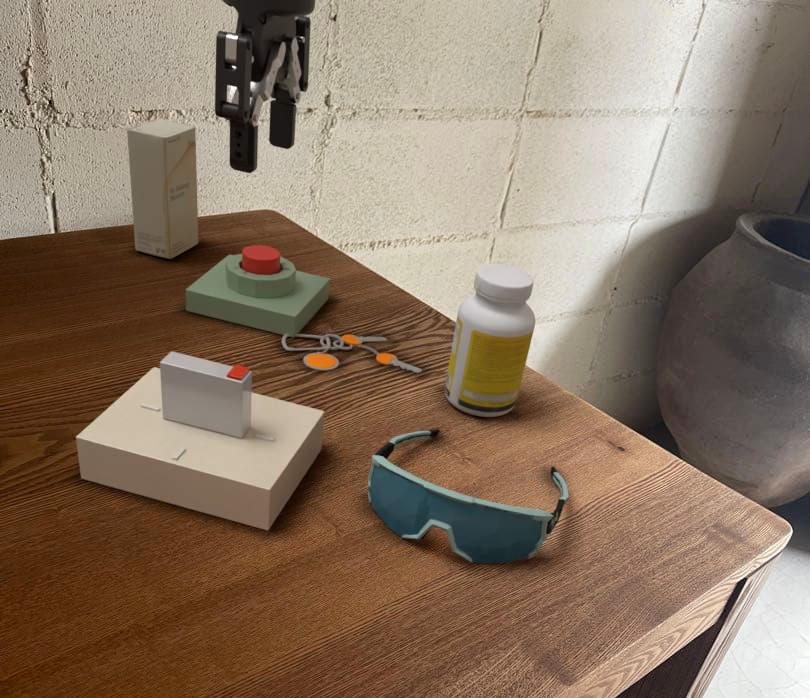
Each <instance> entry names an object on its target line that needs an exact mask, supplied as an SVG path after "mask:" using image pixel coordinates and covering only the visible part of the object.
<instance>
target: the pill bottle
mask: <svg viewBox="0 0 810 698" xmlns="http://www.w3.org/2000/svg"><path fill="white" fill-rule="evenodd" d="M534 281H535V280H534V277H533V276H532V274H530V273H529V272H528V271H525V270H523V269H521V268H518V267H516V266H513V265H508V264H503V263H487V264H482V265H480V266H479V267H478V268H477V269H476V273H475V276H474V280H473V289H474V291H475V292H474V293H471V294H470V295H468V296H467V297H465V298H464V299H463V300H462V302H461V303H460V305H459V306H458V311H457V315H456V321H455V326H454V333H453V338H452V343H451V350H450V355H449V361H448V367H447V372H446V377H445V378H446V379H445V384H444V394H445V398H446V399H447V401H448V402H449V404H451V405H452V406H453V407H454V408H456V409H457V410H459V411H461V412H462V413H463V412H464V413H466V414H468V415H471V416H476V417H481V418H482V417H483V418H495V417H500V416H504V415H506V414H508V413H510V412H511V411H512V410H513V409H514V407H515V406H516V404H517V401H518V396H519V392H520V389H521V385H522V381H523V376H524V372H525V367H526V364H527V360H528V356H529V352H530V347H531V343H532V338H533V334H534V330H535V327H536V316H535V313H534V311H533V309H532V307H530V305H529V304H528V303H527V301H528V300H529V299H530V298H531V296H532V292H533V288H534Z"/></svg>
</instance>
